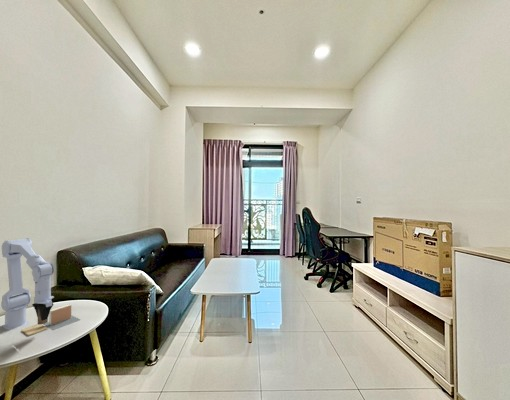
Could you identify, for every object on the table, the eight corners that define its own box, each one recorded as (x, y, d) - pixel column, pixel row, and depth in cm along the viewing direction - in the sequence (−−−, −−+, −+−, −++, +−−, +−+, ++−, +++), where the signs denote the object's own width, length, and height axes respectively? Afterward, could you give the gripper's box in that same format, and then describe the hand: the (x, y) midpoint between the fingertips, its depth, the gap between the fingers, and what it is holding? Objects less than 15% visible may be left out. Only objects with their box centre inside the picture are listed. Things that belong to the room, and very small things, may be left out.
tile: (49, 324, 122) (49, 310, 123) (69, 316, 130) (69, 304, 130) (50, 325, 121) (51, 311, 121) (71, 317, 129) (71, 304, 129)
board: (21, 331, 116) (21, 329, 116) (39, 325, 122) (39, 323, 122) (28, 337, 111) (28, 334, 111) (47, 330, 117) (47, 328, 117)
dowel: (36, 323, 113) (36, 308, 113) (45, 320, 116) (46, 305, 116) (39, 325, 111) (39, 310, 111) (49, 321, 114) (49, 307, 114)
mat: (42, 324, 123) (42, 324, 123) (70, 315, 133) (70, 314, 133) (53, 331, 117) (53, 330, 117) (80, 320, 127) (80, 319, 127)
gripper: (60, 289, 113) (59, 318, 113) (47, 284, 121) (46, 311, 120) (41, 294, 107) (40, 325, 107) (28, 288, 114) (28, 317, 114)
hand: (42, 318), depth 113 cm, fingers closed on dowel, 4 cm apart
